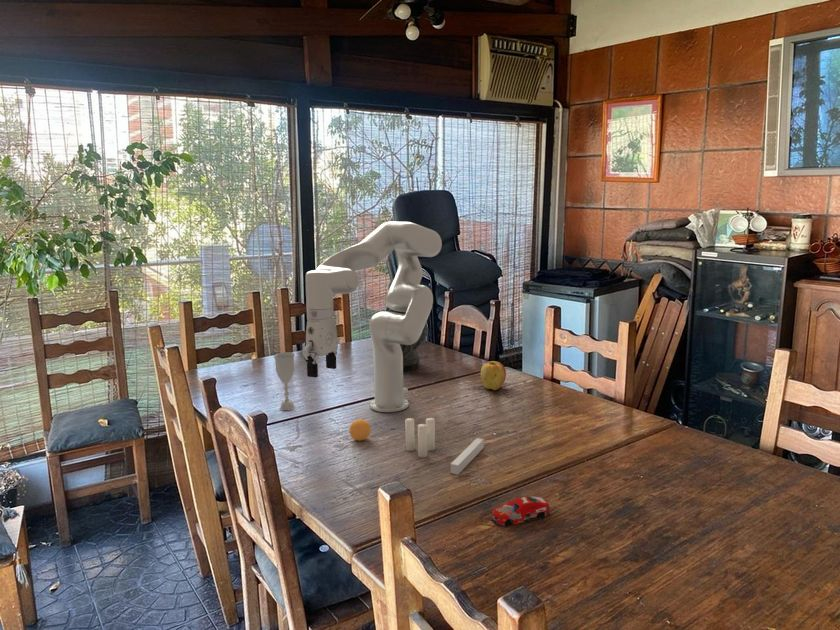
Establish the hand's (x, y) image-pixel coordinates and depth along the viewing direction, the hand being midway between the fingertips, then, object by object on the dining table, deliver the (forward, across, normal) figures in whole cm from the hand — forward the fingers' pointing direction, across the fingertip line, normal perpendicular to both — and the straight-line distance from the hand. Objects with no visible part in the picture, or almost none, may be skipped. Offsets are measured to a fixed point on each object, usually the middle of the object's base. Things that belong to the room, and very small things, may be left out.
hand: (322, 372), depth 179 cm
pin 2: (+18, +2, -33) cm, 38 cm away
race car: (+19, -24, -65) cm, 72 cm away
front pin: (+19, 0, -28) cm, 34 cm away
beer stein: (+18, +73, +9) cm, 76 cm away
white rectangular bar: (+18, -1, -45) cm, 49 cm away
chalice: (+19, +15, +24) cm, 34 cm away
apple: (+18, +59, -33) cm, 70 cm away
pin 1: (+19, -3, -33) cm, 38 cm away
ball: (+16, 0, -12) cm, 20 cm away
